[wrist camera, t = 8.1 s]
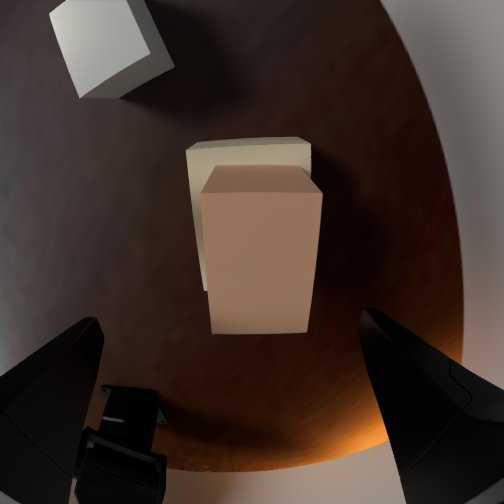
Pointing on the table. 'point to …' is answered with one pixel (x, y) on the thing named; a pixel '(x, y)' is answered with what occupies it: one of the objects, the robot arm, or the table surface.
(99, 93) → the grey brick
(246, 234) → the terracotta brick
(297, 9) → the table surface
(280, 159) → the birch brick
